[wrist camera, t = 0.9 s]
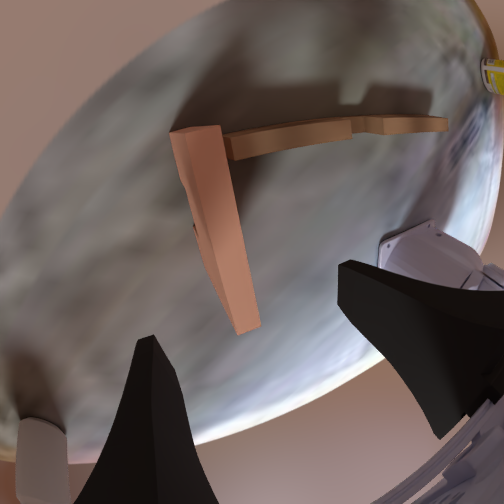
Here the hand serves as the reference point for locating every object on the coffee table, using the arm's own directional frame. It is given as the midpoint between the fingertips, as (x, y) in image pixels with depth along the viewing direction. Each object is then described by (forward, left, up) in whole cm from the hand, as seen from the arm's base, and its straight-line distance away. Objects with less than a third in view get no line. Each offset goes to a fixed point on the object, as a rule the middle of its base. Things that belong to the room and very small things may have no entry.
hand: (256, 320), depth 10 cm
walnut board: (-12, -5, -9) cm, 16 cm away
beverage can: (+26, +16, -9) cm, 32 cm away
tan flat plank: (0, -2, -9) cm, 9 cm away
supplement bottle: (-43, -13, -9) cm, 46 cm away
